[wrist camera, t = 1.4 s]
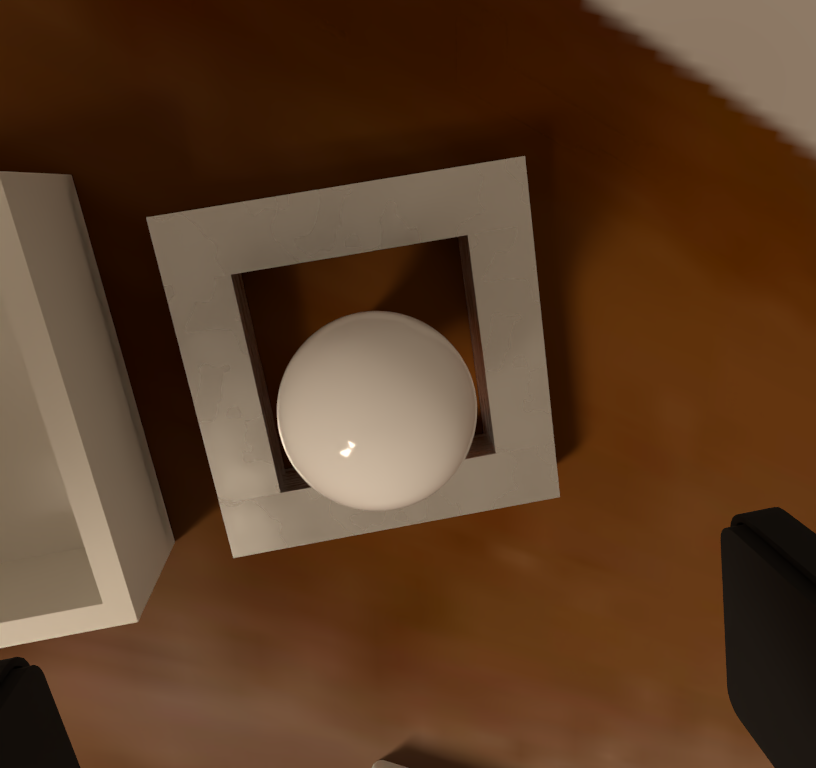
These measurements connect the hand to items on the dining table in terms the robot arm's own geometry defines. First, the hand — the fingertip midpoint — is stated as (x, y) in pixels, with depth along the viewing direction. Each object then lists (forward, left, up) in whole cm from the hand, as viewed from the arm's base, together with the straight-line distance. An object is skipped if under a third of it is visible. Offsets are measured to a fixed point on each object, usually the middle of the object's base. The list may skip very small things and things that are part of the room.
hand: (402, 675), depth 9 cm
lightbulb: (-1, 0, -21) cm, 21 cm away
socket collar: (-1, 0, -21) cm, 21 cm away
